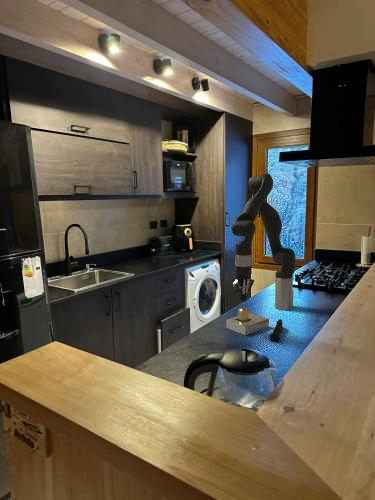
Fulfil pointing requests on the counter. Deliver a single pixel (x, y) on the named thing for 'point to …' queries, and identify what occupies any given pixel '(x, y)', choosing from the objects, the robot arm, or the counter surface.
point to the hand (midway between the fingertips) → (243, 300)
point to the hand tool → (276, 332)
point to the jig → (247, 324)
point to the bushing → (243, 314)
